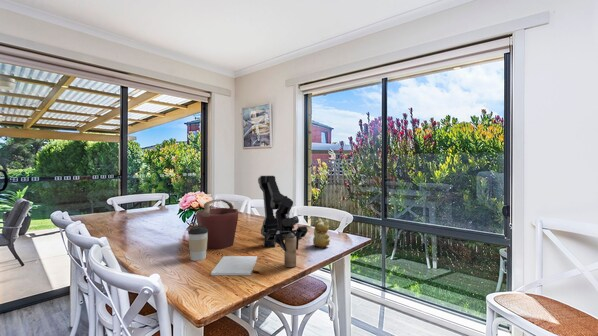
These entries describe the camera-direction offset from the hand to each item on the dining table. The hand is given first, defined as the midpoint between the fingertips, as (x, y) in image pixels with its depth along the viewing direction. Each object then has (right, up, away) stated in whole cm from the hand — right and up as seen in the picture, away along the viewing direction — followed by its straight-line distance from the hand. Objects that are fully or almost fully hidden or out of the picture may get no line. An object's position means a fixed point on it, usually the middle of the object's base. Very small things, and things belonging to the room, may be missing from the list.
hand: (291, 250), depth 123 cm
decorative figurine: (+15, -7, +30) cm, 34 cm away
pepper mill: (-1, -7, +1) cm, 7 cm away
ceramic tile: (-25, -7, +1) cm, 26 cm away
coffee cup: (-45, -7, +11) cm, 47 cm away
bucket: (-42, -7, +33) cm, 54 cm away
